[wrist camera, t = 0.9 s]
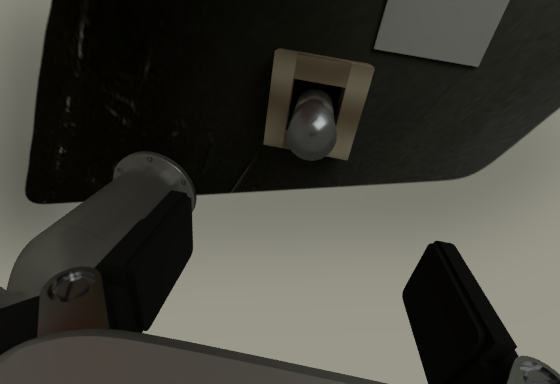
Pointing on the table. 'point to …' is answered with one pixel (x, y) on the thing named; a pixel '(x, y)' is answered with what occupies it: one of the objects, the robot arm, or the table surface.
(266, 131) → the maple socket block
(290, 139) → the steel round peg
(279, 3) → the table surface
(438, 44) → the grey rubber mat
